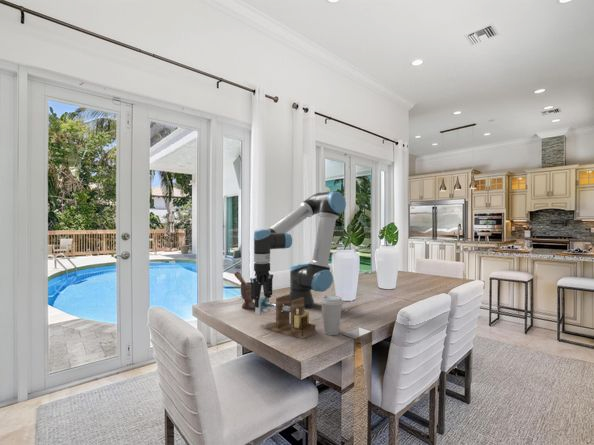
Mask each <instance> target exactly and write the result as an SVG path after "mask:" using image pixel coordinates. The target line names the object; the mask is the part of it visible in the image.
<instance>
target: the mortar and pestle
mask: <svg viewBox="0 0 594 445" xmlns="http://www.w3.org/2000/svg"><path fill="white" fill-rule="evenodd" d="M234 277H235V278H236V279H237V280H238V281H239V282H240V295H241V298H242V300H243V301H244V302H243V303H242V306H241V309H243V310H252V309H255V301H254V300H253V299H251V281H250V282H249V281H245V280H244V278H243V276H242V274H241V273H240V272H239V271H235V272H234Z"/></svg>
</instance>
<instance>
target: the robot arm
mask: <svg viewBox="0 0 594 445" xmlns="http://www.w3.org/2000/svg"><path fill="white" fill-rule="evenodd" d="M345 198H346V197H344V195H343V194H342V192H339V191H333V190H332V191H326V192H325V191H324V192H318V193H317V192H316V193H315V194H312V195H311V196H310V197H308V198H306V199H305V200H303V201H302V202H301V203H300V205H299V206H298V207H297V208H296V209H294V210H293V211H291V212H290V213H289V214H287V215H286V216H285V217H283V218H281V220H279V221H278V222H276V223H275V224H273V225H272V226H271V227H269V228H267V229H259V228H258V229H255V230H254V233H253V262H254V263H253V272H254V276H253V277H250V279H249V280H250V282H251V299H253V301H254V303H255V308H254V309H255V311H254V312H255V314H256V315H258V316H260V315H261V312H262V311H263V312H266V313H268V312H269V308H266V309H263V310H261V300H259V299H260V298H261V292H262V289H263V297H265V298H268V302H270V298H271V297H272V296H273V279H274V274H271V273H270V271H271V263H270V262H271V250H281V249H284V250H285V249H289V248H291V247H292V245H293V238H292V235H291V234H290V233H289V232H290V231H291V230H293V229H294V228H295V227H296V226H297V225H299V224H300V223H302V222H303V221H304V220H306V219H307V218H311V217H312V216H315V215H318V216H319V222H318V228H317V233H316V238H315V244H314V249H313V253H312V254H313V255H312V260H311V261H310V262H308V263H296V264H292V265H290V270H289V273H290V277H289V279H290V280H289V283H290V287H289V290H290V292H289V294H288V295H290V307H291V301H293V300H296V299H299V298H302V297H303V298H304V309H306V308H307V309H308V308H311V307H313V306H314V305H315V301H314V297H313V294H312V293H313V292H312V291H314V292H320V293H322V292H325V291H327V290H328V289H329V288H330V287H331V285H332V284H333V278H334V276H333V273H332V271H330V270H331V266H330V265H329V259H330V254H331V248H332V245H333V244H332V243H333V238H334V232H335V226H336V220H338V219H339V218H340V214H342V213H343V212H344V211H345V209H346V206H347V205H346V204H347V202H346V199H345ZM297 309H299V307H298V308H297Z"/></svg>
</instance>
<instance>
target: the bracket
mask: <svg viewBox="0 0 594 445" xmlns="http://www.w3.org/2000/svg"><path fill="white" fill-rule="evenodd" d="M275 304H276V309H275V322H272V323H270V324H268V325H265V326H264V329H266V330H269V331H272V332H277V333H279V334H283V335H286V336H289V337H290V336H291V337H295V338H297V339H301V340H303V339H304V338H306V337H309V336H311V335H312V334H314V333H316V332H317V330H316V324H314V323H310V322H309V327H308V328H306V329H304V330H298V329H294V315H296V314H297V309H298V313H300V312H303V311H305V308H304V298H303V297H302V298H299V299H296V300H293V301H291V313H290V312H286V311H282V305H285V306H290V295H289V294H285V295H283V296H282V295H281V296H279V297H278V296H277V297H276V299H275ZM298 307H299V308H298ZM301 326H303V317H302V318H301Z"/></svg>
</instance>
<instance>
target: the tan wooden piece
mask: <svg viewBox="0 0 594 445" xmlns="http://www.w3.org/2000/svg"><path fill="white" fill-rule="evenodd" d="M302 317H303V326H301V318H302ZM309 323H310V311H307V310H306V311H305V310H304V311H303V312H300V313H299V312H298V313H296V315H294V329H298V330H304V329H306V328H308V327H309Z"/></svg>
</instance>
